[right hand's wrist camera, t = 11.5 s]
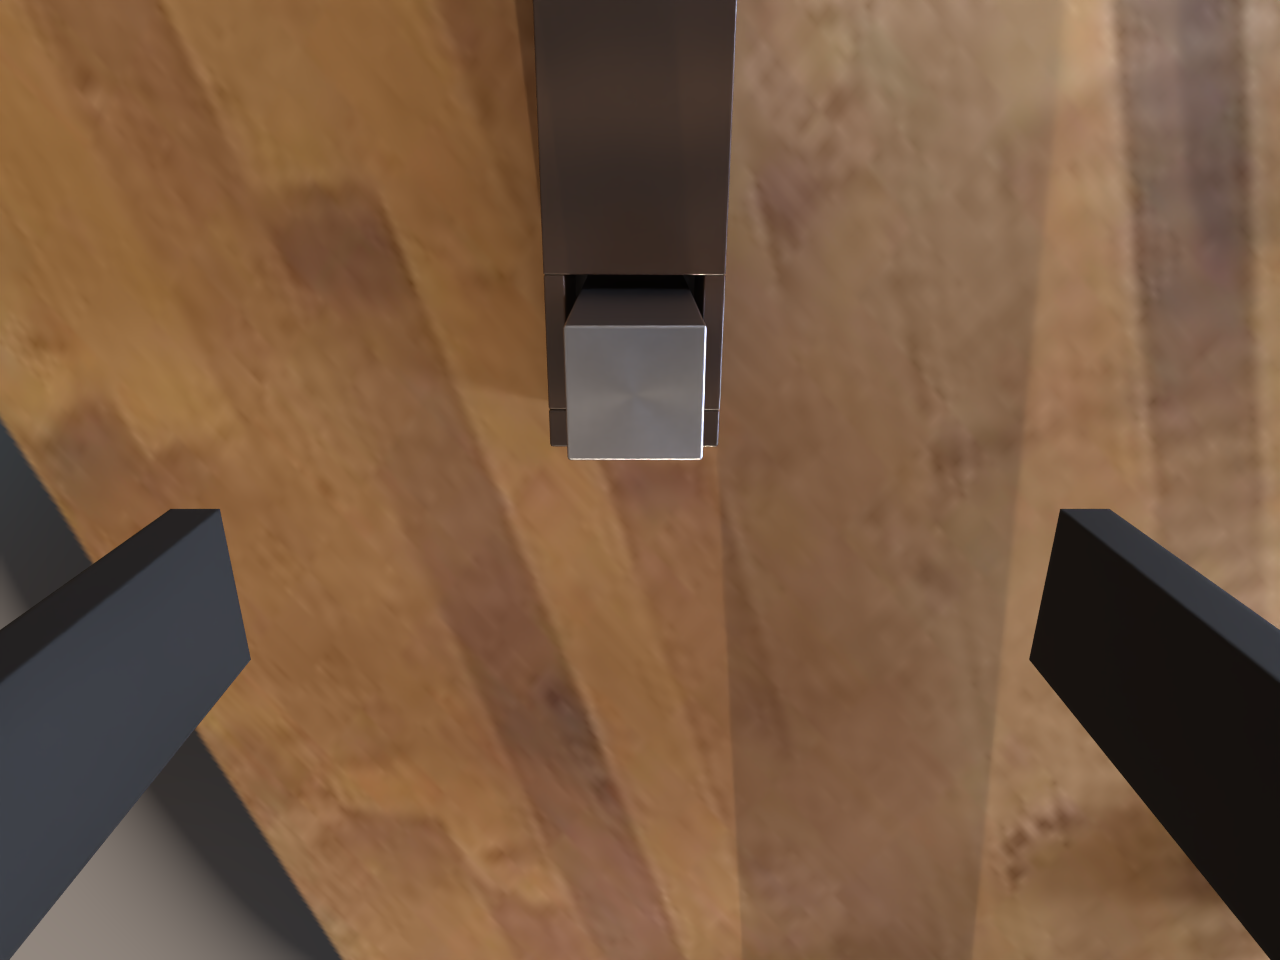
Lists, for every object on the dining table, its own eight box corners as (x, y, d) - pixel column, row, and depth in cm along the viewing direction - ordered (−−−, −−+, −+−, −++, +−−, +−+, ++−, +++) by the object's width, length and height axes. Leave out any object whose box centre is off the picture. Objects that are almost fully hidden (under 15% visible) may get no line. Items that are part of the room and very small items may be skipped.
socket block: (542, -264, 28) (518, -375, 22) (729, -263, 28) (752, -373, 22) (563, 404, 36) (550, 447, 31) (705, 405, 36) (718, 447, 31)
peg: (683, 273, 33) (707, 325, 22) (681, 367, 35) (702, 461, 23) (587, 273, 33) (563, 325, 22) (589, 367, 35) (567, 461, 23)
